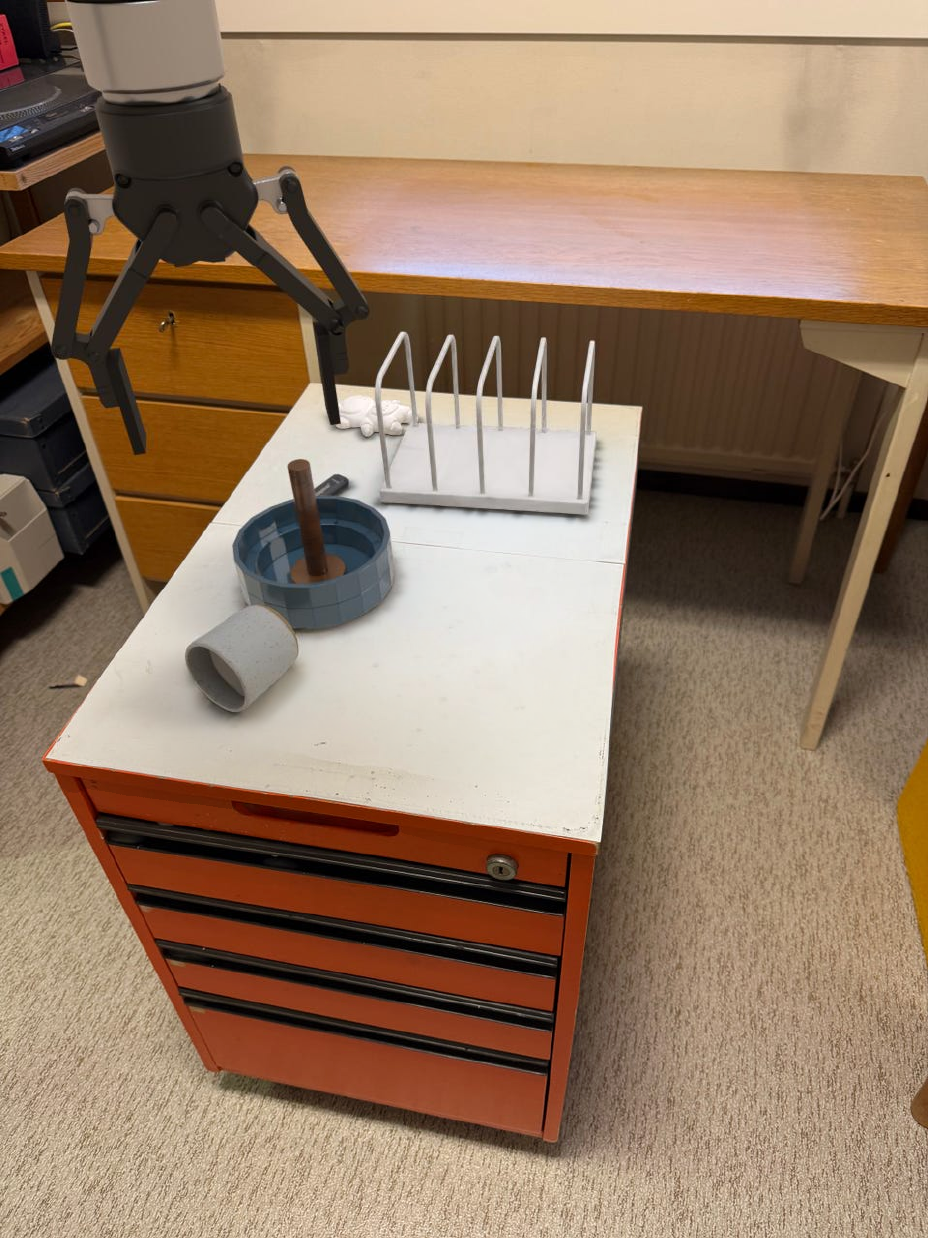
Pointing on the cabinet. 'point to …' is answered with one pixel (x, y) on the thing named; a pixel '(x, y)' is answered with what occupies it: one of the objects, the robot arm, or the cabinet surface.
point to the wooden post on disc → (310, 531)
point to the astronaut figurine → (373, 415)
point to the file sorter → (490, 450)
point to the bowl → (278, 546)
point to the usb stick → (332, 486)
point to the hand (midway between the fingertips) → (238, 430)
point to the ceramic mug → (242, 656)
